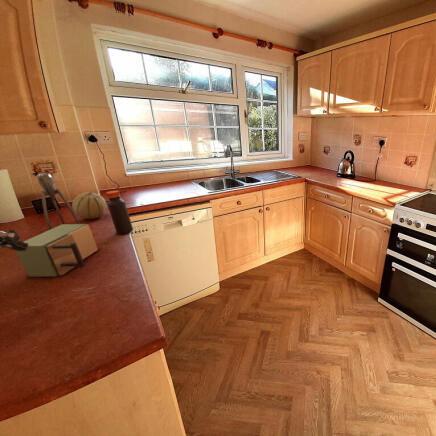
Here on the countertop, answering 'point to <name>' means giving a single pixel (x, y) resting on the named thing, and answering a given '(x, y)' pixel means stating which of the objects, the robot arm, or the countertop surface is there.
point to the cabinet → (37, 251)
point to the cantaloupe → (89, 205)
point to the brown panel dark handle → (65, 254)
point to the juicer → (52, 196)
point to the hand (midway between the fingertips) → (24, 247)
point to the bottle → (119, 213)
